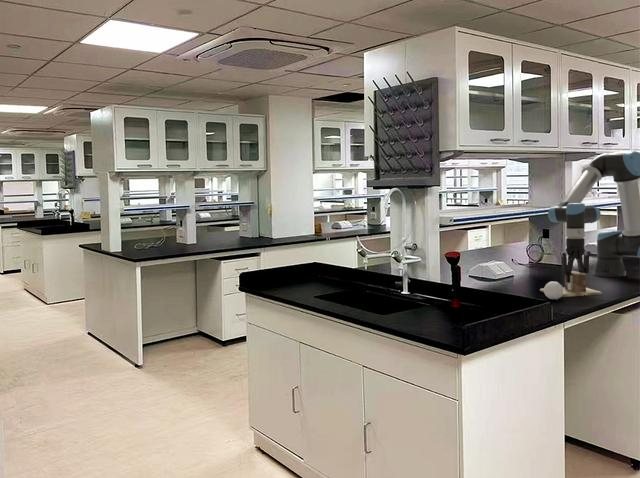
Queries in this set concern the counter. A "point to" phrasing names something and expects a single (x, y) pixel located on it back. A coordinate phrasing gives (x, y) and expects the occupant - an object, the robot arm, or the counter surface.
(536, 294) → the counter surface
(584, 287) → the wooden block
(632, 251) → the robot arm
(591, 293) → the board
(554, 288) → the geometric ball
